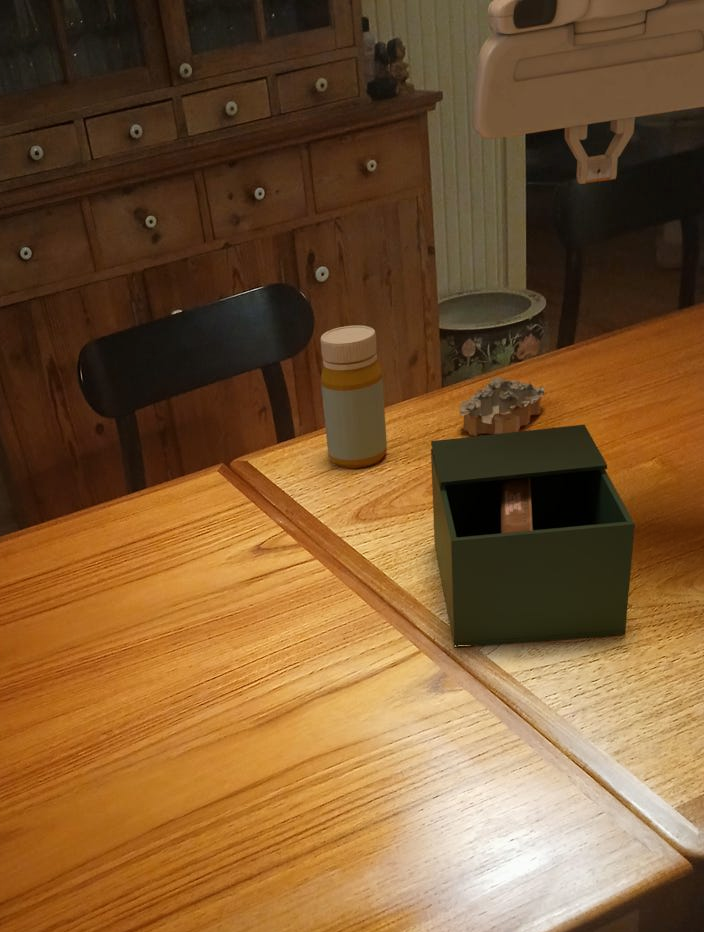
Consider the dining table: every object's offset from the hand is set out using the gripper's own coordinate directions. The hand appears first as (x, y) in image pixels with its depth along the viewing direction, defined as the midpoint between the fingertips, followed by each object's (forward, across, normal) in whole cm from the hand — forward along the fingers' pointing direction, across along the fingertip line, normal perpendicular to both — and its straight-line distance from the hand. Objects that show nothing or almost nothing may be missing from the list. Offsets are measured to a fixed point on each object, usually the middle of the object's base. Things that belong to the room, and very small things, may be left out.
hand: (596, 180), depth 83 cm
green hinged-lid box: (+31, +8, +14) cm, 35 cm away
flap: (+20, +8, +9) cm, 24 cm away
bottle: (+31, +22, -18) cm, 42 cm away
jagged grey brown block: (+31, +4, -24) cm, 40 cm away
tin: (+31, +8, +14) cm, 35 cm away
